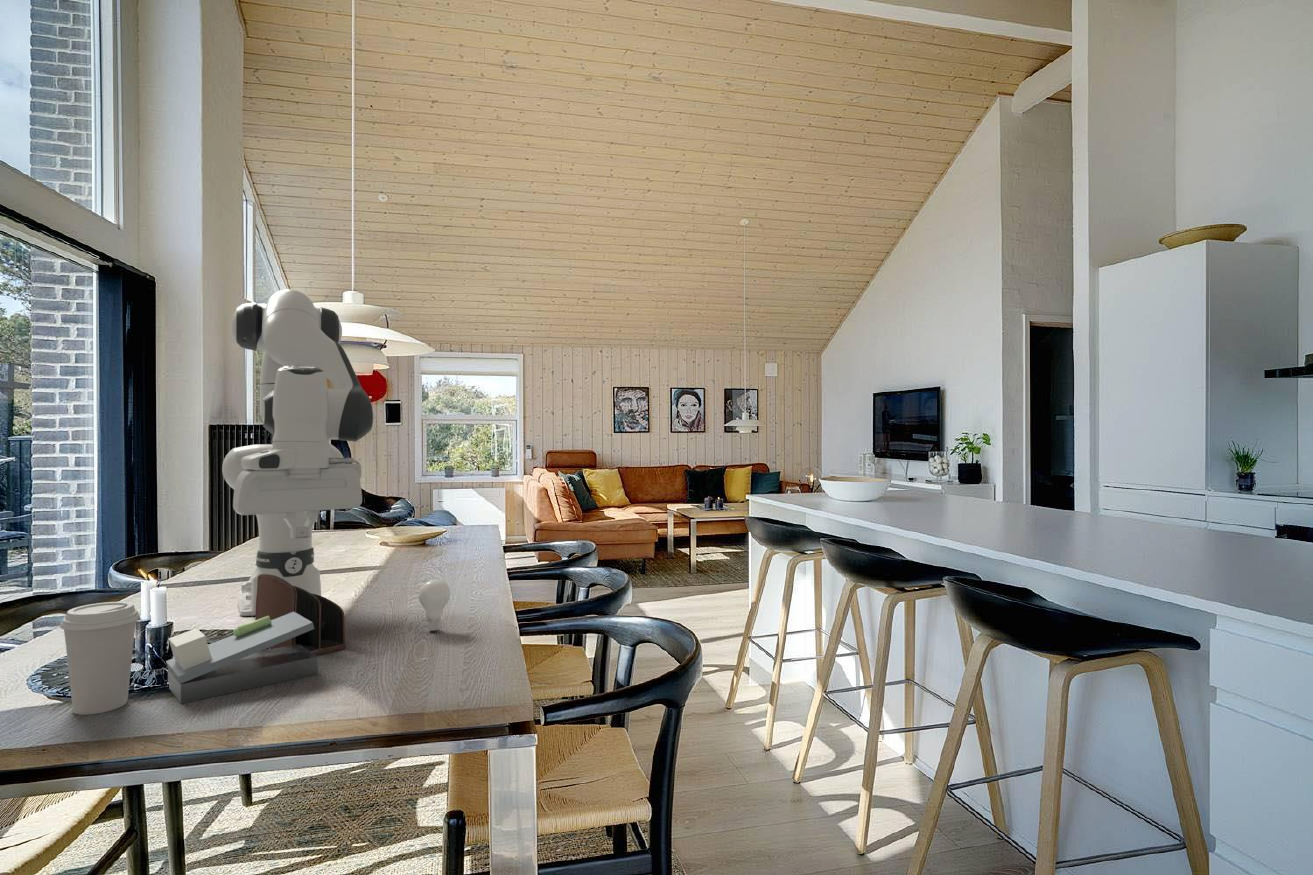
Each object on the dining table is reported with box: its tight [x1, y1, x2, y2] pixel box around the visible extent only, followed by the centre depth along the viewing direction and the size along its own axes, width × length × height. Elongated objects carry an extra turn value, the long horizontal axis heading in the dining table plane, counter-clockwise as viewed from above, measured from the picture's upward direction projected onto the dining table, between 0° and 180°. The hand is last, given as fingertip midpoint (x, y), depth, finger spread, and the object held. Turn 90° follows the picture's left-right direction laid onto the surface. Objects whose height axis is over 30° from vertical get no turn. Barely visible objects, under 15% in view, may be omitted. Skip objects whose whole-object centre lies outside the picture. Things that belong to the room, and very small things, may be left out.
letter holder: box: [254, 574, 346, 656], centre depth 139 cm, size 10×20×14 cm, turn 47°
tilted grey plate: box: [165, 612, 314, 683], centre depth 118 cm, size 10×20×5 cm, turn 134°
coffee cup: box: [59, 601, 141, 716], centre depth 107 cm, size 10×10×15 cm
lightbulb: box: [418, 578, 451, 633], centre depth 149 cm, size 6×6×11 cm
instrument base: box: [167, 644, 319, 705], centre depth 119 cm, size 10×20×3 cm, turn 134°
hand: (300, 537), depth 123 cm, fingers closed
